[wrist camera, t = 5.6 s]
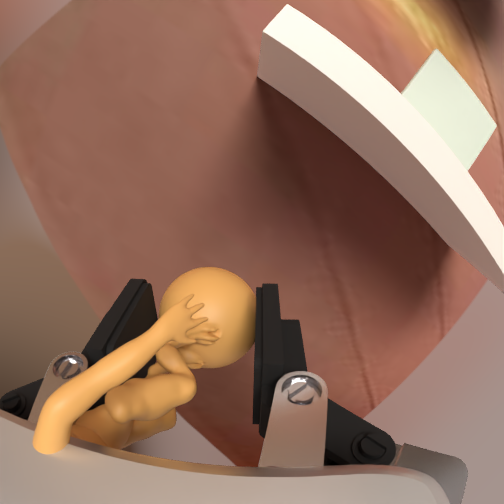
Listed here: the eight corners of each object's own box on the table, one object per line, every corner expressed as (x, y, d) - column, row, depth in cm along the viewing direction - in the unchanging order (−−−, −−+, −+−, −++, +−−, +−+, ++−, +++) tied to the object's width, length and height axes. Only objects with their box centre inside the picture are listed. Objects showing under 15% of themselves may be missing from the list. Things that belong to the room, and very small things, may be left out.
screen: (456, 232, 26) (538, 299, 15) (447, 244, 27) (526, 315, 15) (268, 61, 21) (287, 3, 9) (256, 76, 21) (262, 31, 9)
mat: (494, 125, 21) (496, 125, 21) (446, 196, 25) (448, 197, 24) (434, 49, 19) (436, 48, 19) (377, 123, 22) (379, 123, 22)
